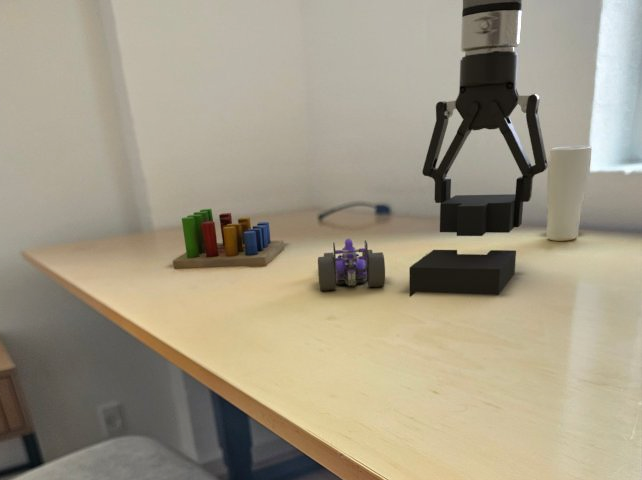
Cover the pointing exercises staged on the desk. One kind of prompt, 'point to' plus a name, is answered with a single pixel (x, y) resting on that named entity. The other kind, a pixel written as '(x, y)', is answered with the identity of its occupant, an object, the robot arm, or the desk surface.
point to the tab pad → (477, 214)
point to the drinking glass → (566, 190)
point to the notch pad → (462, 272)
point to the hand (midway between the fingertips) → (480, 225)
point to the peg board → (225, 243)
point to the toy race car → (351, 267)
